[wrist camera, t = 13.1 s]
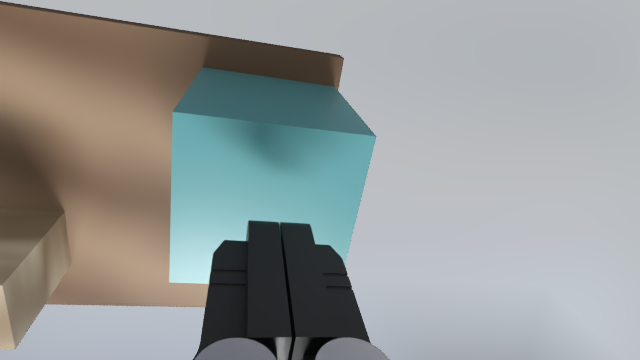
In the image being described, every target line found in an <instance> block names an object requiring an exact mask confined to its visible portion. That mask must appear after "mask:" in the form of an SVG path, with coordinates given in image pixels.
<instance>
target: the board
mask: <svg viewBox="0 0 640 360" xmlns="http://www.w3.org/2000/svg"><path fill="white" fill-rule="evenodd" d="M343 60H344V58H343V57H341V56H340V55H336V54H330V53H324V52H318V51H311V50H305V49H299V48H293V47H286V46H280V45H273V44H267V43H261V42H254V41H248V40H242V39H236V38H229V37H223V36H217V35H210V34H204V33H198V32H190V31H185V30H178V29H172V28H166V27H159V26H154V25H147V24H141V23H135V22H128V21H122V20H116V19H109V18H103V17H97V16H90V15H84V14H77V13H71V12H65V11H59V10H52V9H46V8H40V7H33V6H27V5H21V4H14V3H8V2H2V1H0V349H16V347H17V345H18V344H19V343H20V341H21V340H22V338H23V337H24V335H25V333H26V332H27V331H28V329H29V328H30V326H31V325H32V323H33V322H34V320H35V318H36V317H37V315H38V314H39V312H40V311H41V310H42V308H43V307H44V305H45V304H63V305H65V304H66V305H116V306H118V305H119V306H169V307H175V306H176V307H206V300H207V293H208V287H209V284H198V283H170V282H169V268H170V219H171V170H172V120H173V110H174V109H175V107H176V106H177V104H178V103H179V101H180V100H181V98H182V97H183V95H184V94H185V92H186V91H187V89H188V88H189V86H190V85H191V83H192V82H193V80H194V79H195V77H196V76H197V74H198V73H199V71H200V70H201V68H202V67H205V68H211V69H218V70H225V71H232V72H239V73H245V74H252V75H259V76H266V77H273V78H280V79H286V80H293V81H300V82H307V83H314V84H321V85H327V86H334V87H335V88H336V89H337V90H338V87H339V82H340V76H341V71H342V66H343Z"/></svg>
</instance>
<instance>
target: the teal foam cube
mask: <svg viewBox="0 0 640 360" xmlns="http://www.w3.org/2000/svg"><path fill="white" fill-rule="evenodd" d="M375 139H376V136H375V135H374V133H373V132H372V131H371V130H370V128H369V127H368V126H367V125H366V124H365V123H364V121H363V120H362V119H361V118H360V117H359V115H358V114H357V113H356V112H355V111H354V109H353V108H352V107H351V106H350V105H349V103H348V102H347V101H346V100H345V99H344V98H343V96H342V95H341V94H340V93H339V92H338V90H337V89H336V88H335V87H334V86H327V85H321V84H314V83H307V82H300V81H293V80H286V79H280V78H273V77H266V76H259V75H252V74H245V73H239V72H232V71H225V70H218V69H211V68H205V67H202V68H201V70H200V71H199V73H198V74H197V76H196V77H195V79H194V80H193V82H192V83H191V85H190V86H189V88H188V89H187V91H186V92H185V94H184V95H183V97H182V98H181V100H180V101H179V103H178V104H177V106H176V107H175V109H174V110H173V120H172V170H171V219H170V268H169V282H170V283H198V284H209V279H210V273H211V265H212V258H213V253H214V252H215V250H216V249H217V248H218V247H219V246H220V244H221V243H222V242H223V241H224V240H236V241H246V235H247V226H248V220H253V221H270V222H278V223H279V224H280V222H289V223H305V224H310V225H311V229H312V233H313V237H314V241H315V244H321V245H330V246H331V247H332V248H333V249H334V250H335V251H336V252H337V253H338V254H339V255H340V256H341V258H342V259H343V262H344V265H345V262H346V258H347V254H348V250H349V246H350V242H351V237H352V234H353V229H354V225H355V221H356V217H357V213H358V209H359V205H360V201H361V197H362V192H363V188H364V184H365V180H366V176H367V172H368V168H369V164H370V160H371V156H372V151H373V147H374V143H375Z"/></svg>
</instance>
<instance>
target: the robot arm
mask: <svg viewBox="0 0 640 360" xmlns="http://www.w3.org/2000/svg"><path fill="white" fill-rule="evenodd" d="M193 360H389V359H388V357H387V356H386V355H385V354H384V353H383V352H382V351H381V350H380V349H378V348H377V347H375V346H374V345H372V344H371V343H370V341H369V337H368V335H367V332H366V328H365V325H364V322H363V319H362V316H361V313H360V310H359V307H358V304H357V301H356V298H355V295H354V292H353V290H352V286H351V283H350V280H349V277H347V271H346V268H345V265H344V262H343V259H342V258H341V256H340V255H339V254H338V253H337V252H336V251H335V250H334V249H333V248H332V247H331V246H330V245H321V244H315V241H314V237H313V233H312V229H311V225H310V224H305V223H289V222H280V224H279V223H278V222H270V221H253V220H248V226H247V235H246V241H236V240H224V241H223V242H222V243H221V244H220V246H219V247H218V248H217V249H216V250H215V252H214V253H213V258H212V265H211V273H210V279H209V287H208V293H207V300H206V307H205V314H204V321H203V328H202V335H201V342H200V346H199V349H198V352H197V354H196V356H195V357H194V359H193Z"/></svg>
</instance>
